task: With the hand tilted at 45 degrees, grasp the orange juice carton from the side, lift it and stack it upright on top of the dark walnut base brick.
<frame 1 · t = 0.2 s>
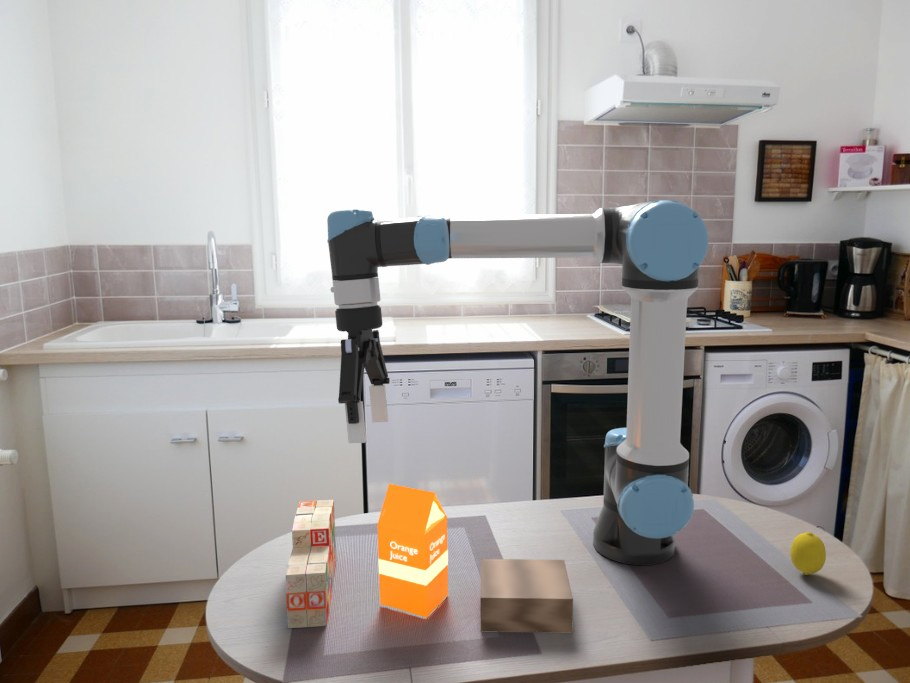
hand: (369, 431, 118), 27 cm above the table, tool pointing down, fingers open, 13 cm apart
base brick: (524, 611, 113), on the table
orange juice: (414, 603, 116), on the table
stack of blocks: (314, 593, 120), on the table
lemon: (805, 575, 123), on the table
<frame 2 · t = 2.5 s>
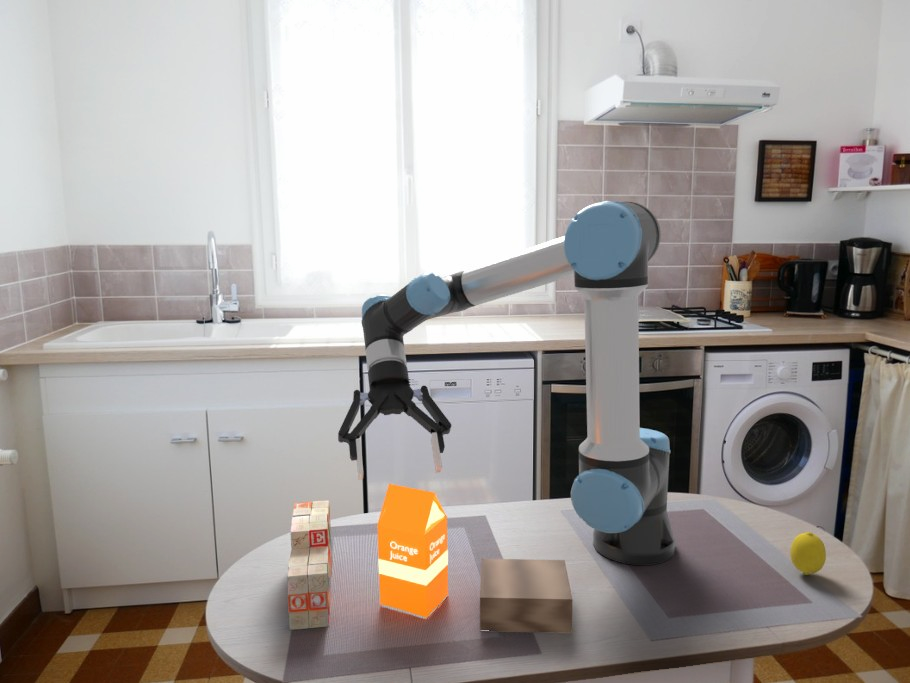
hand: (400, 473, 121), 19 cm above the table, tool tilted 45°, fingers open, 13 cm apart
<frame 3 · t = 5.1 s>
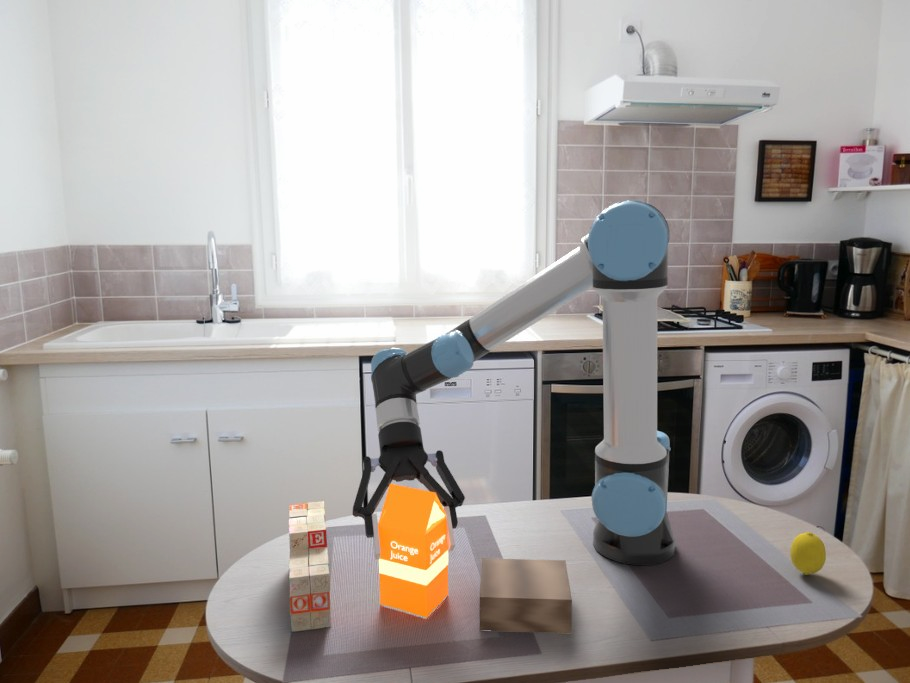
hand: (415, 552, 111), 10 cm above the table, tool tilted 45°, fingers closed on orange juice, 11 cm apart
orange juice: (414, 602, 116), on the table, touching gripper
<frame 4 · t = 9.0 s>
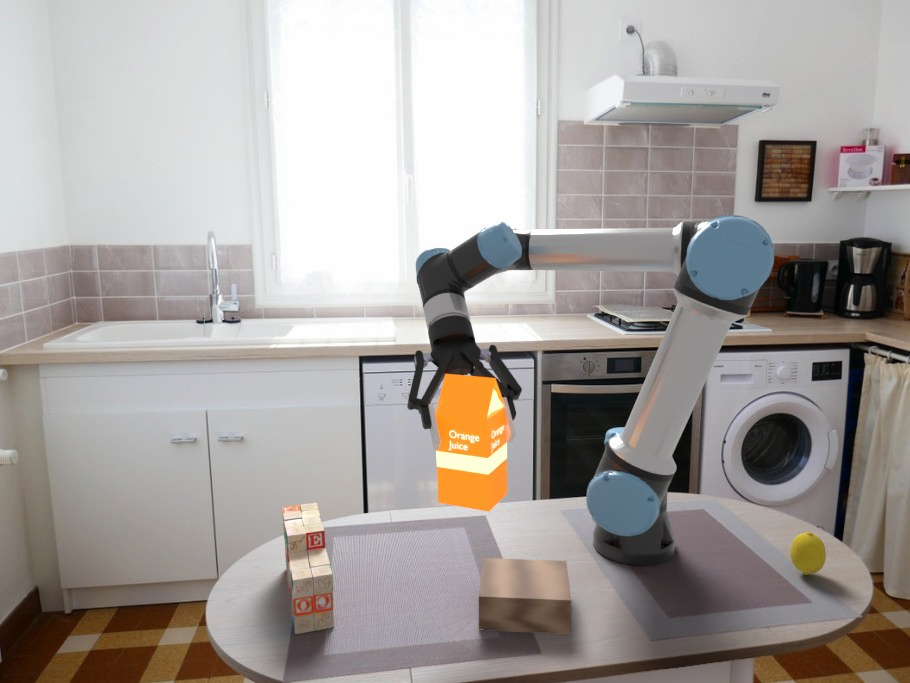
hand: (475, 442, 107), 29 cm above the table, tool tilted 45°, fingers closed on orange juice, 11 cm apart
orange juice: (473, 499, 112), point 18 cm above the table, touching gripper
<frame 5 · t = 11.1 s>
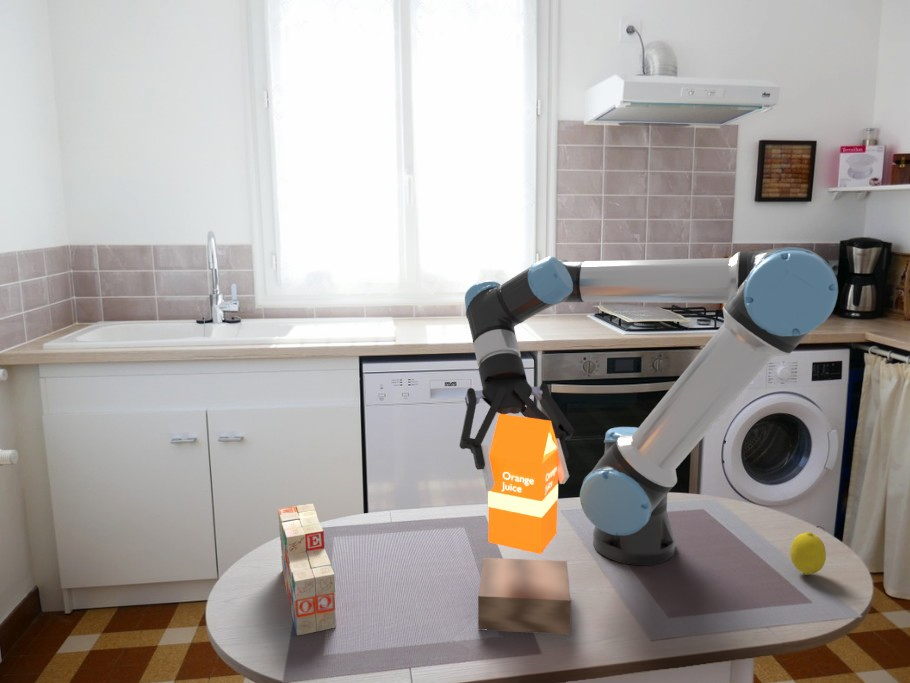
hand: (528, 484, 107), 23 cm above the table, tool tilted 45°, fingers closed on orange juice, 11 cm apart
orange juice: (522, 539, 111), point 12 cm above the table, touching gripper
when the fingers open (18 cm above the table, at t = 12.9 s): orange juice drops 2 cm, point 6 cm above the table.
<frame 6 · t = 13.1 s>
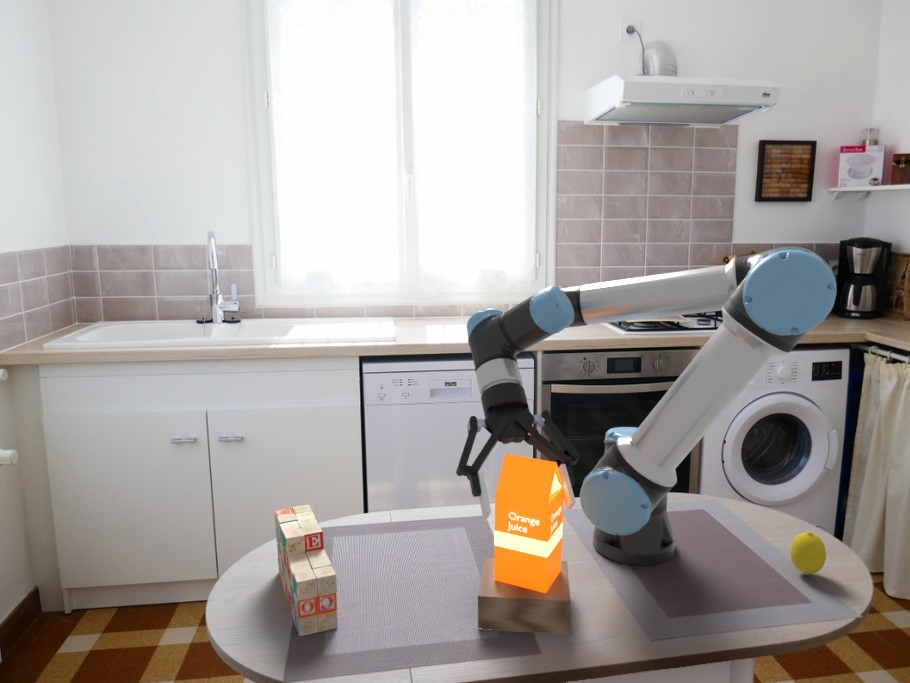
hand: (529, 510, 108), 18 cm above the table, tool tilted 45°, fingers open, 13 cm apart
orange juice: (527, 576, 113), point 6 cm above the table
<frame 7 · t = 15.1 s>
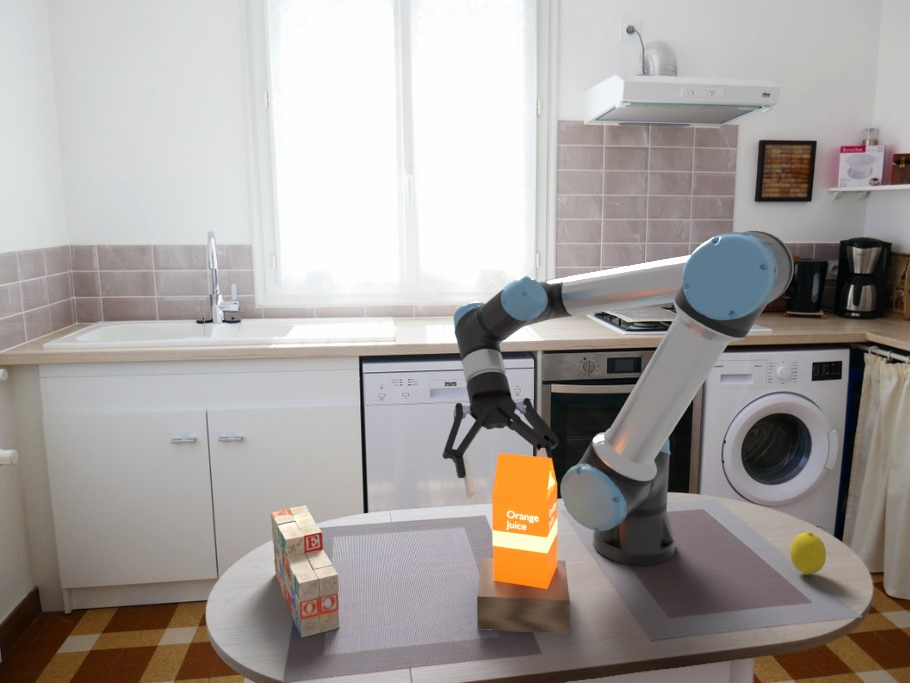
hand: (511, 491, 115), 18 cm above the table, tool tilted 45°, fingers open, 13 cm apart
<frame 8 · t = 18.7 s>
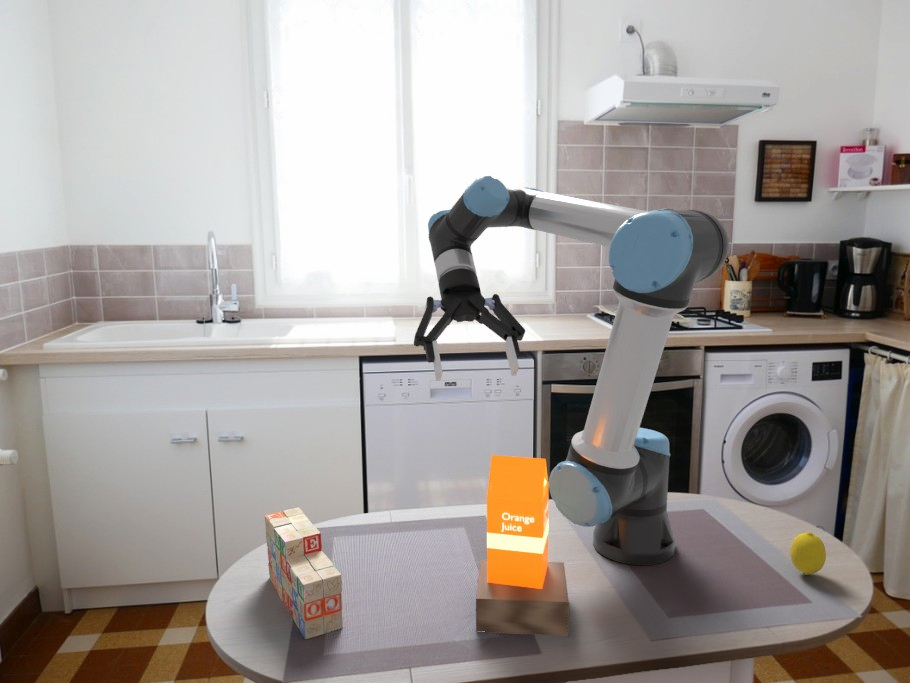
hand: (477, 374, 121), 36 cm above the table, tool tilted 45°, fingers open, 13 cm apart
base brick: (521, 613, 113), on the table, touching orange juice
orange juice: (518, 574, 114), point 5 cm above the table, touching base brick
at the end: orange juice inside the target area on the base brick (1.9 cm from its centre), point 5.8 cm above the base brick's base; orange juice tilted 0°; orange juice touching base brick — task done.
